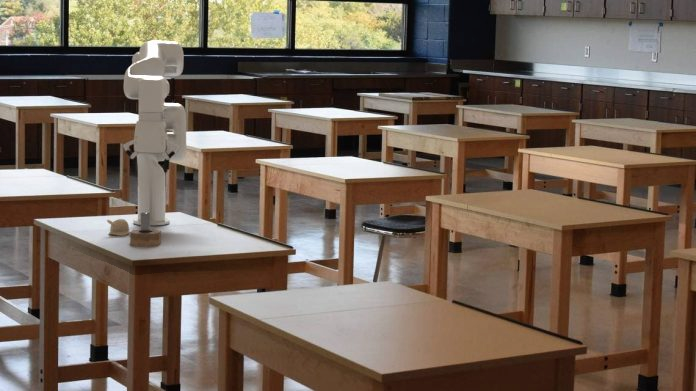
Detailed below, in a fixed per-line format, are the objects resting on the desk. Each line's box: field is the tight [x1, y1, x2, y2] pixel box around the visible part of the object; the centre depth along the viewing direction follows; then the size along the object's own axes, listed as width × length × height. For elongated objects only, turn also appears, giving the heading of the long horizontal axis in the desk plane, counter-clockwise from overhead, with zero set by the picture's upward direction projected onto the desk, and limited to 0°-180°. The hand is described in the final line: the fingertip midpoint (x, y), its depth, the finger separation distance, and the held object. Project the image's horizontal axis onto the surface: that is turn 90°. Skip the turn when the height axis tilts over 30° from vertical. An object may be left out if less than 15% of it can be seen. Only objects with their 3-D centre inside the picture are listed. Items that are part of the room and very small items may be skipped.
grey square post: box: [139, 212, 151, 233], centre depth 368 cm, size 3×3×10 cm
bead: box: [129, 228, 162, 248], centre depth 369 cm, size 9×9×4 cm
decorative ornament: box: [106, 218, 131, 237], centre depth 385 cm, size 4×8×5 cm, turn 124°
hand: (150, 171), depth 369 cm, fingers open, 9 cm apart
